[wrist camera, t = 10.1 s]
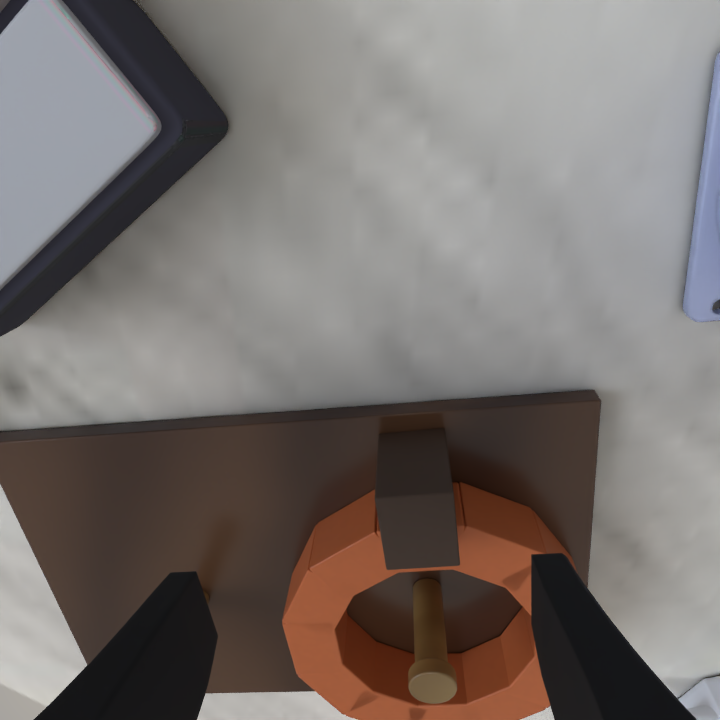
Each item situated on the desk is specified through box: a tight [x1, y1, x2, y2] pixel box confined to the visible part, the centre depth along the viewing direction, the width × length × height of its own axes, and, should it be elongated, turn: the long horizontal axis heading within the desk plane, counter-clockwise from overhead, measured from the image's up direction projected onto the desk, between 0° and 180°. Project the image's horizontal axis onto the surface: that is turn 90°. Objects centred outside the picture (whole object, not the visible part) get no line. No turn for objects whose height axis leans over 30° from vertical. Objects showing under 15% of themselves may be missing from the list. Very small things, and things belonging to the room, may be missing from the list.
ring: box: [282, 428, 578, 720], centre depth 22 cm, size 11×14×4 cm
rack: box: [0, 390, 601, 704], centre depth 22 cm, size 23×15×5 cm, turn 97°
